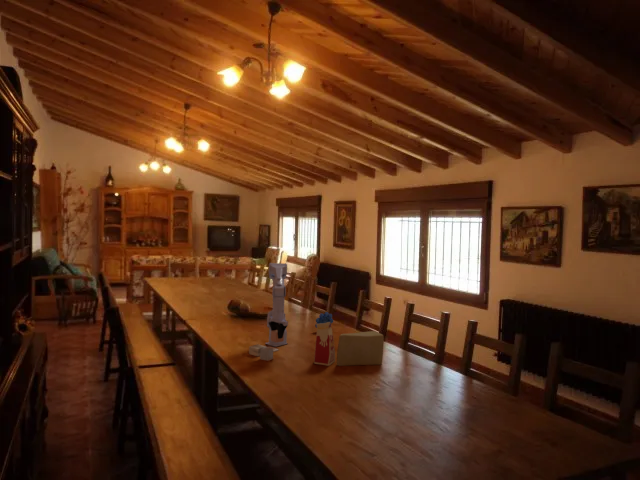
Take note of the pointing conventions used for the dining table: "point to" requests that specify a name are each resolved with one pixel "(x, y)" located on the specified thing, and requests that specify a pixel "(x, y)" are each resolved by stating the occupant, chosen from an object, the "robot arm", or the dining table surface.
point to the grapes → (324, 318)
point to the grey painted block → (266, 353)
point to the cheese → (360, 349)
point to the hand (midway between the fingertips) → (277, 337)
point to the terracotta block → (276, 336)
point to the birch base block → (255, 349)
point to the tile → (274, 349)
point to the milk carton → (324, 345)
